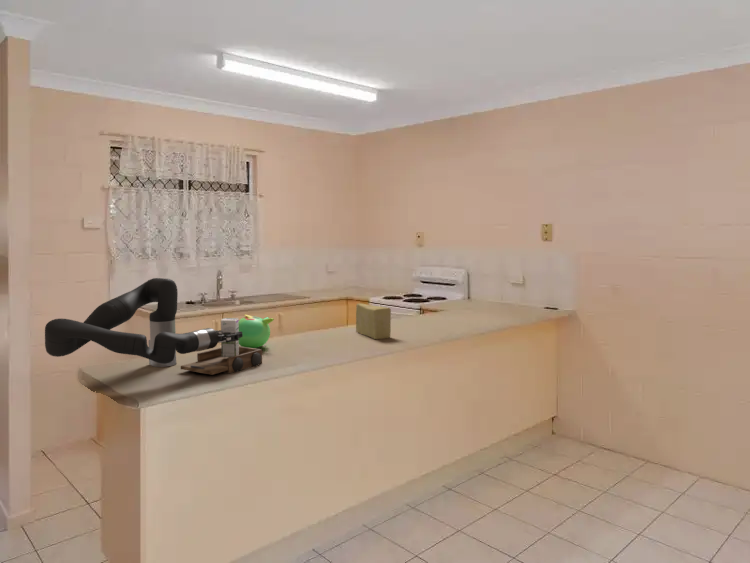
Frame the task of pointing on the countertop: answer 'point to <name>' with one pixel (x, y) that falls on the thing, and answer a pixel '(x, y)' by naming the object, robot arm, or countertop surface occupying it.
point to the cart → (232, 358)
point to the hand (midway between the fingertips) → (233, 333)
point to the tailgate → (204, 368)
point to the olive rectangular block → (373, 321)
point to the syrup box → (226, 326)
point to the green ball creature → (254, 331)
